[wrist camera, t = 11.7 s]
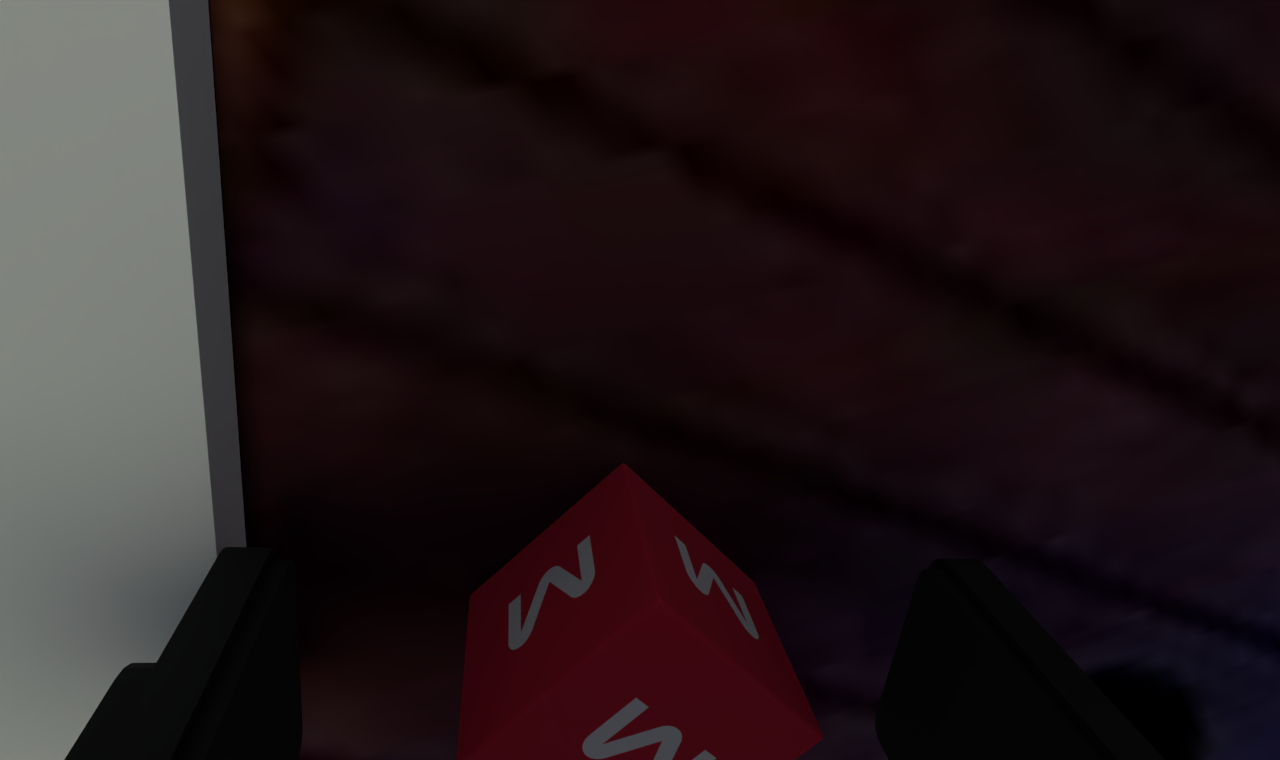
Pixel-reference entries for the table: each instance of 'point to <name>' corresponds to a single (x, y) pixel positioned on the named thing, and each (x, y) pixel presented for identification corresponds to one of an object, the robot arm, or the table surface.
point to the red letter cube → (626, 646)
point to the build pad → (107, 351)
